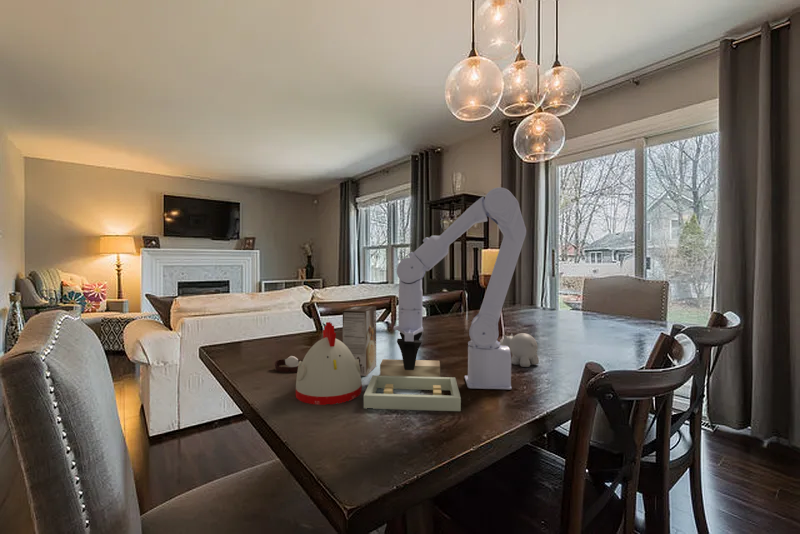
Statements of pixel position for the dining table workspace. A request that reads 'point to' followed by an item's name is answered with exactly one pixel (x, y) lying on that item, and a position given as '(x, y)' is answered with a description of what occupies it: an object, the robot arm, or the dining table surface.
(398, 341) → the robot arm
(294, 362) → the watch
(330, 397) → the kitchen timer
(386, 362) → the board
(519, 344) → the round bodied animal figurine
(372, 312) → the coffee box
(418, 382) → the peg frame
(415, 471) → the dining table surface
